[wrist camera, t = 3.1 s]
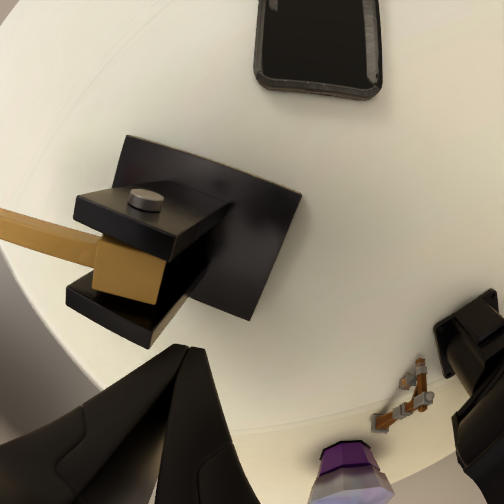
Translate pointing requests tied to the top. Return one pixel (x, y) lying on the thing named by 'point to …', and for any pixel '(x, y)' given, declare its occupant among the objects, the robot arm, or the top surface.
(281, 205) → the bracket
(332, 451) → the potion bottle
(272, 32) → the phone
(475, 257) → the top surface
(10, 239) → the lever
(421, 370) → the wooden post with brackets
